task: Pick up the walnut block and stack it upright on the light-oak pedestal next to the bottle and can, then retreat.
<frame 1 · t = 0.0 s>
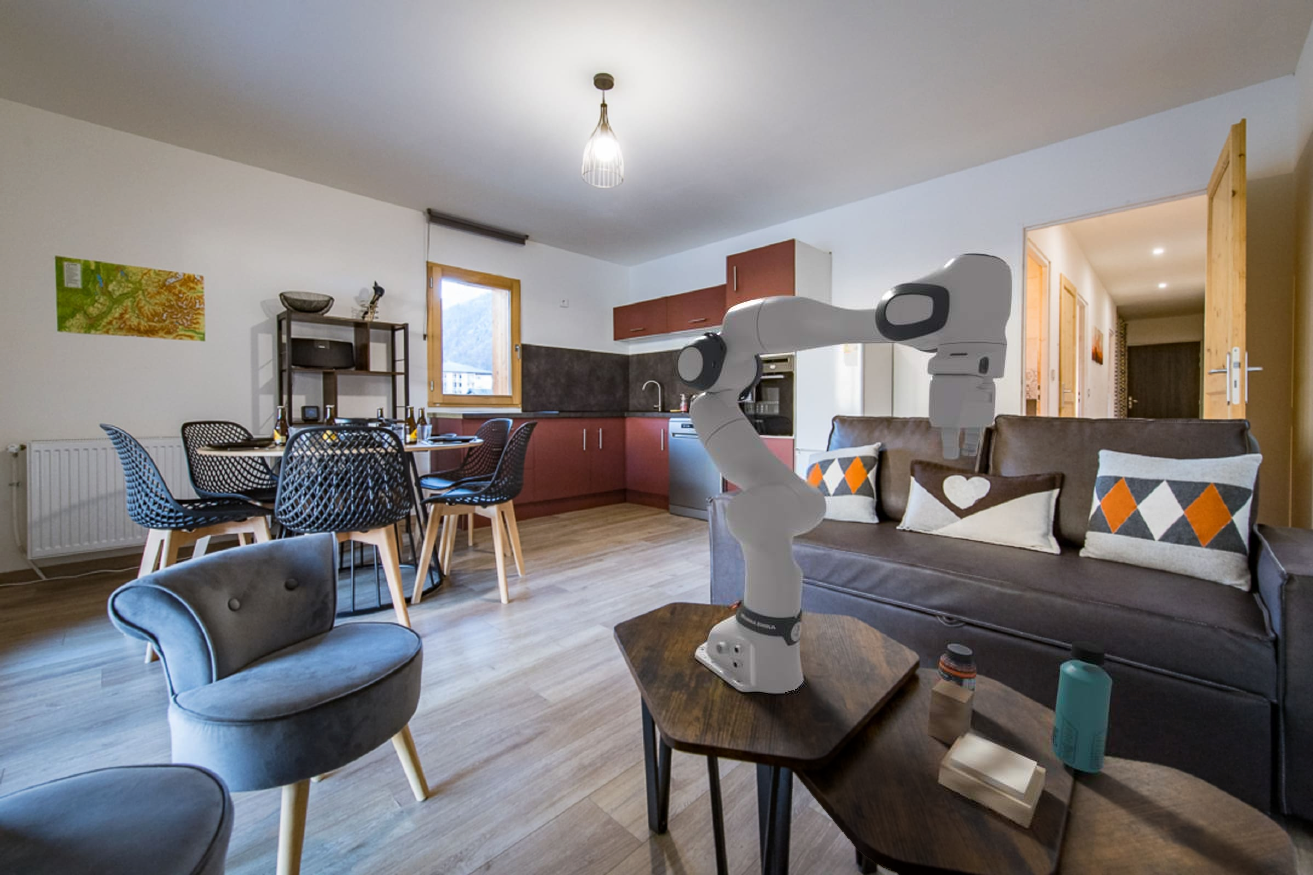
hand: (960, 457, 78), 48 cm above the table, fingers open, 8 cm apart
supplement bottle: (953, 707, 95), on the table
walnut block: (948, 735, 87), on the table
beverage bottle: (1074, 768, 81), on the table
pedestal: (990, 785, 76), on the table
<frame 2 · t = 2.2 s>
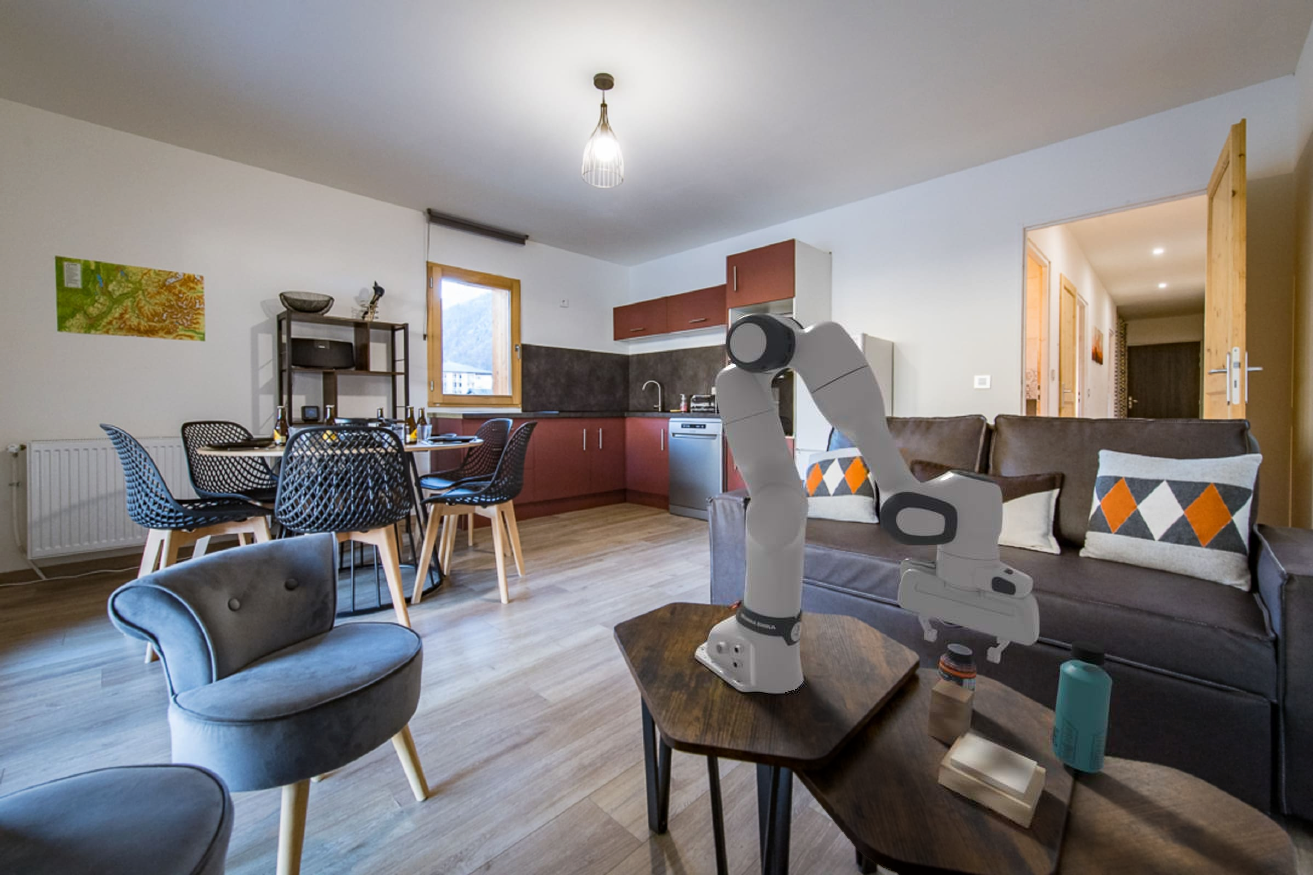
hand: (960, 649, 86), 15 cm above the table, fingers open, 8 cm apart
nothing on the table moved.
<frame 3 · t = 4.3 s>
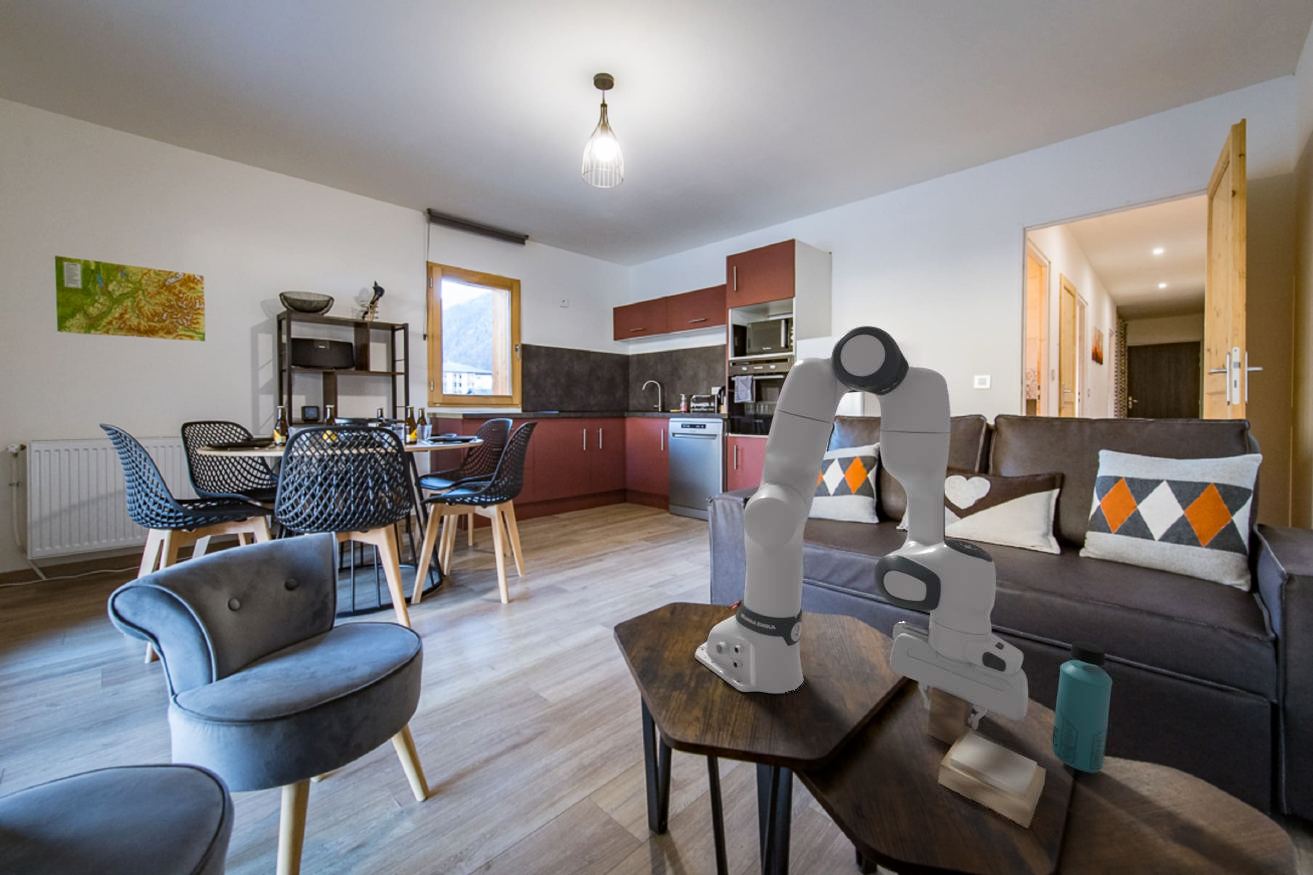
hand: (950, 717, 87), 3 cm above the table, fingers closed on walnut block, 5 cm apart
walnut block: (948, 734, 87), on the table, touching gripper
everything else where it was.
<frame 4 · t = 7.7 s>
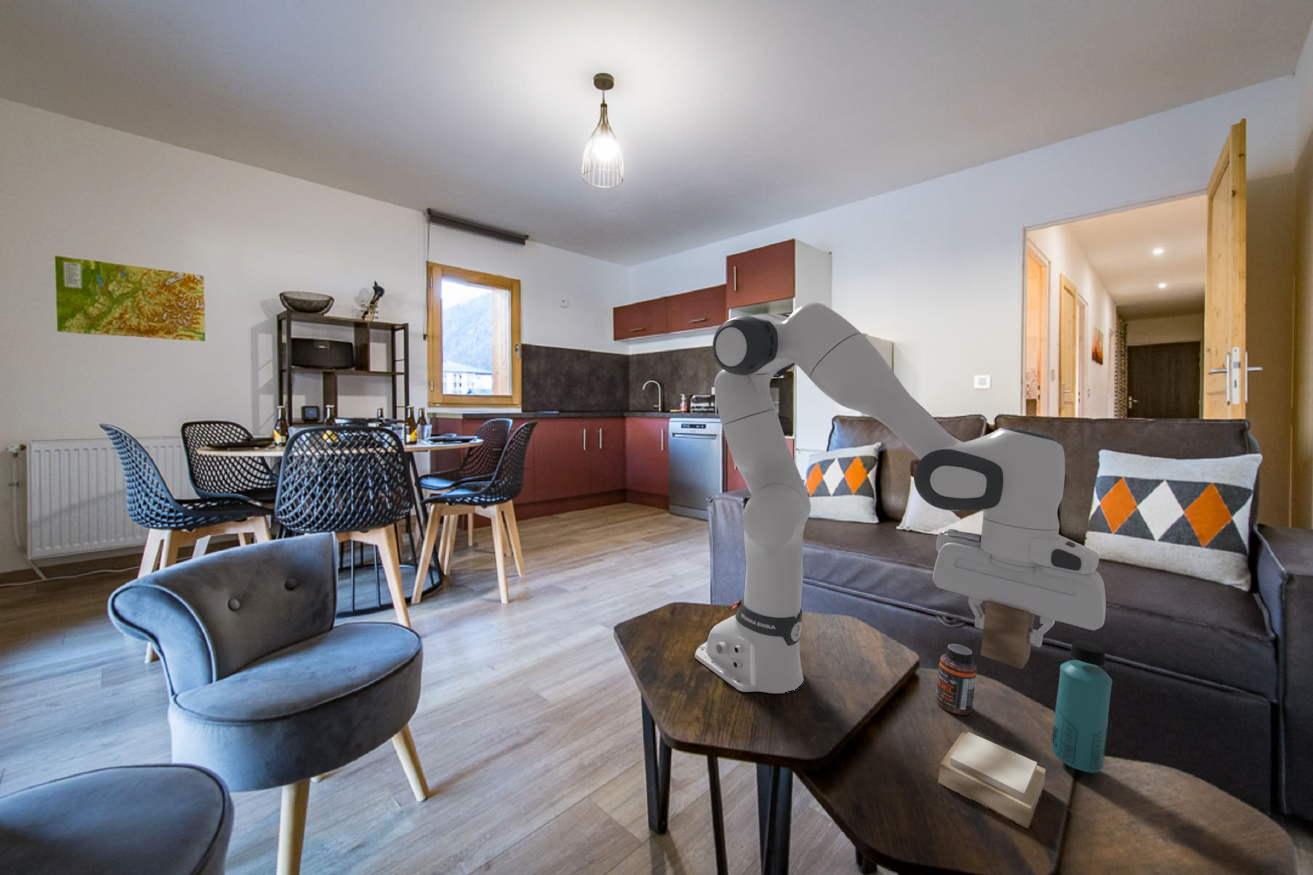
hand: (1007, 635, 74), 23 cm above the table, fingers closed on walnut block, 5 cm apart
walnut block: (1005, 656, 74), point 20 cm above the table, touching gripper
everything else where it was.
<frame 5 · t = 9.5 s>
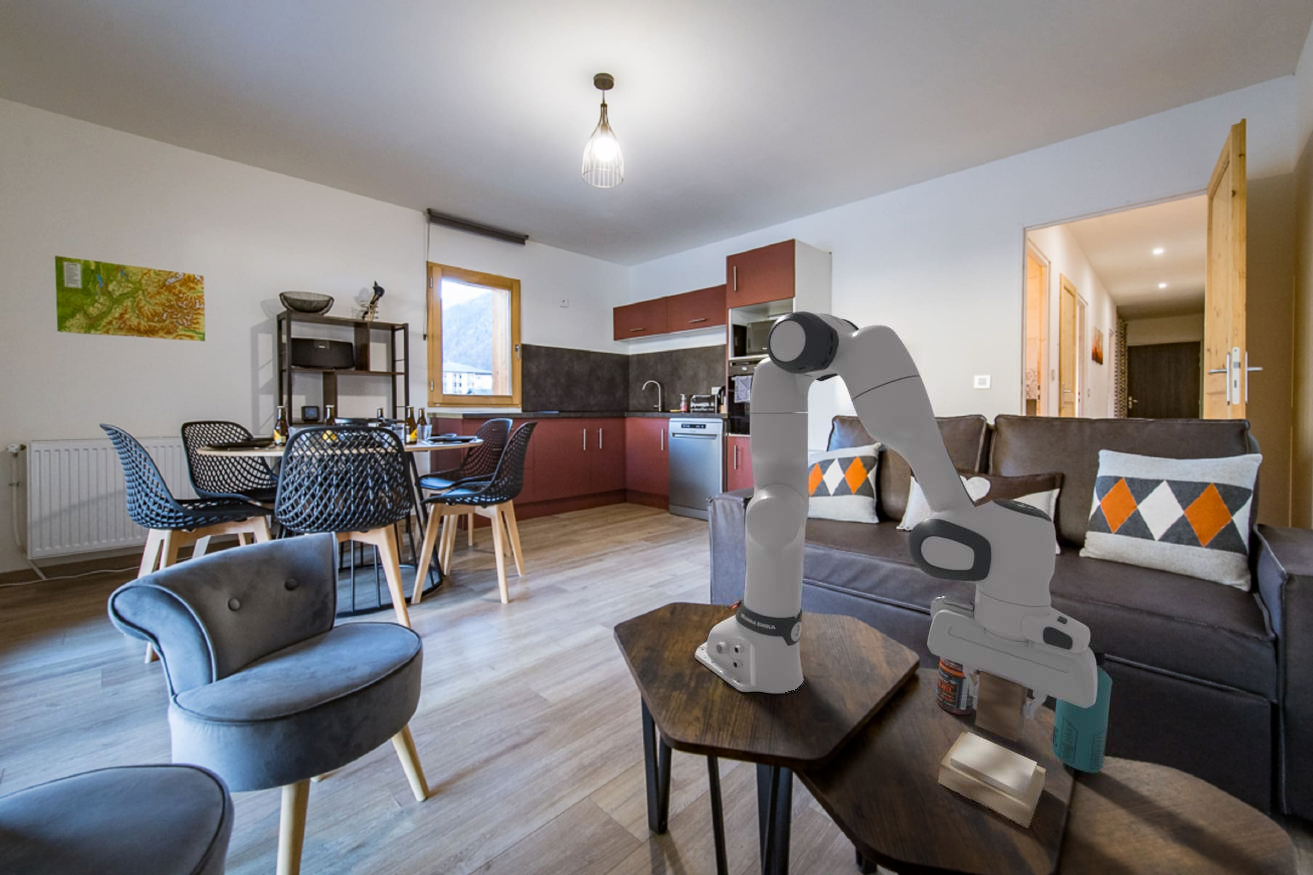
hand: (1001, 705, 75), 12 cm above the table, fingers closed on walnut block, 5 cm apart
walnut block: (999, 725, 75), point 9 cm above the table, touching gripper
everything else where it was.
when the fingers open (8 cm above the table, at t = 11.2 s): walnut block stays where it is, resting on pedestal.
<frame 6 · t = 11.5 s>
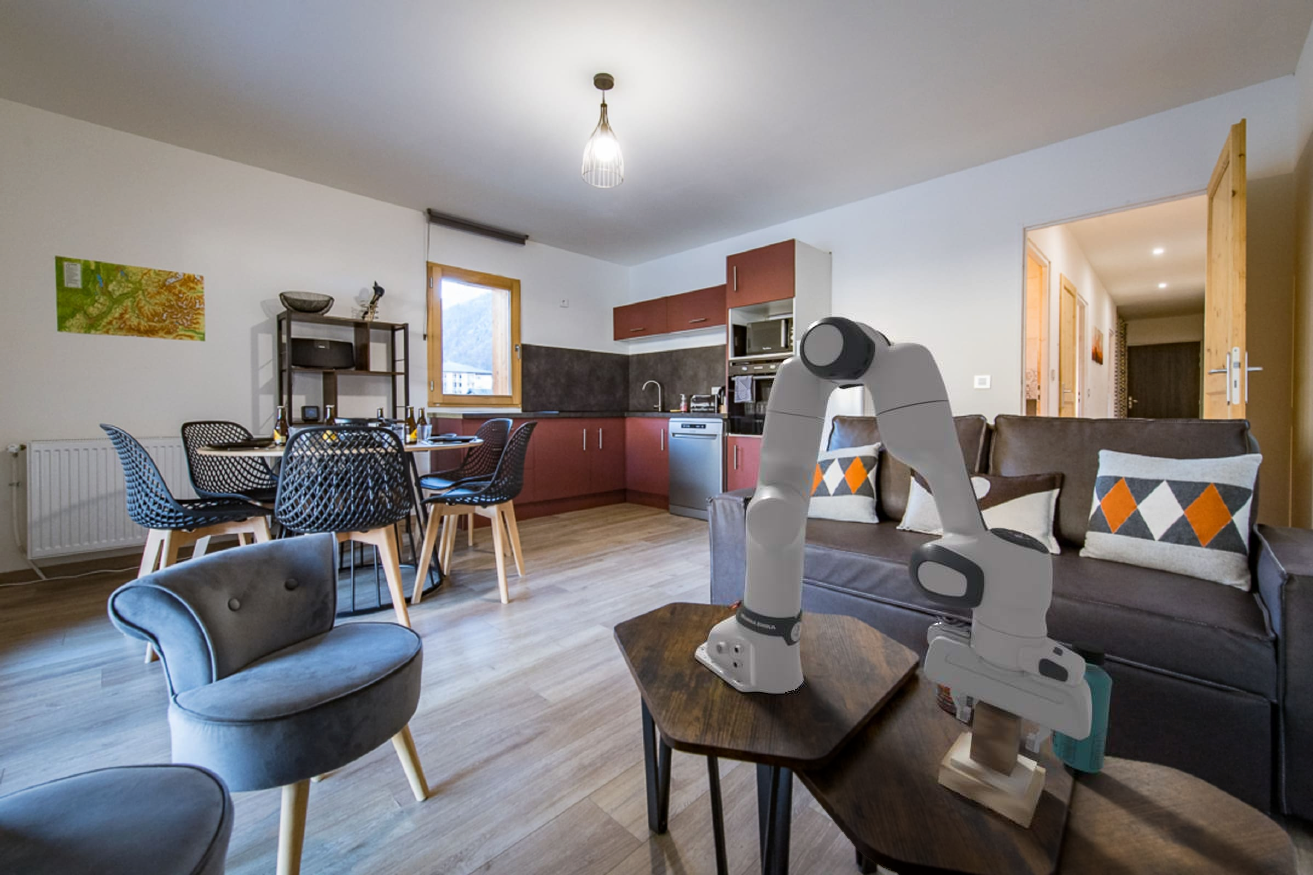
hand: (996, 733, 75), 8 cm above the table, fingers open, 7 cm apart
walnut block: (993, 759, 75), point 4 cm above the table, touching pedestal
everything else where it was.
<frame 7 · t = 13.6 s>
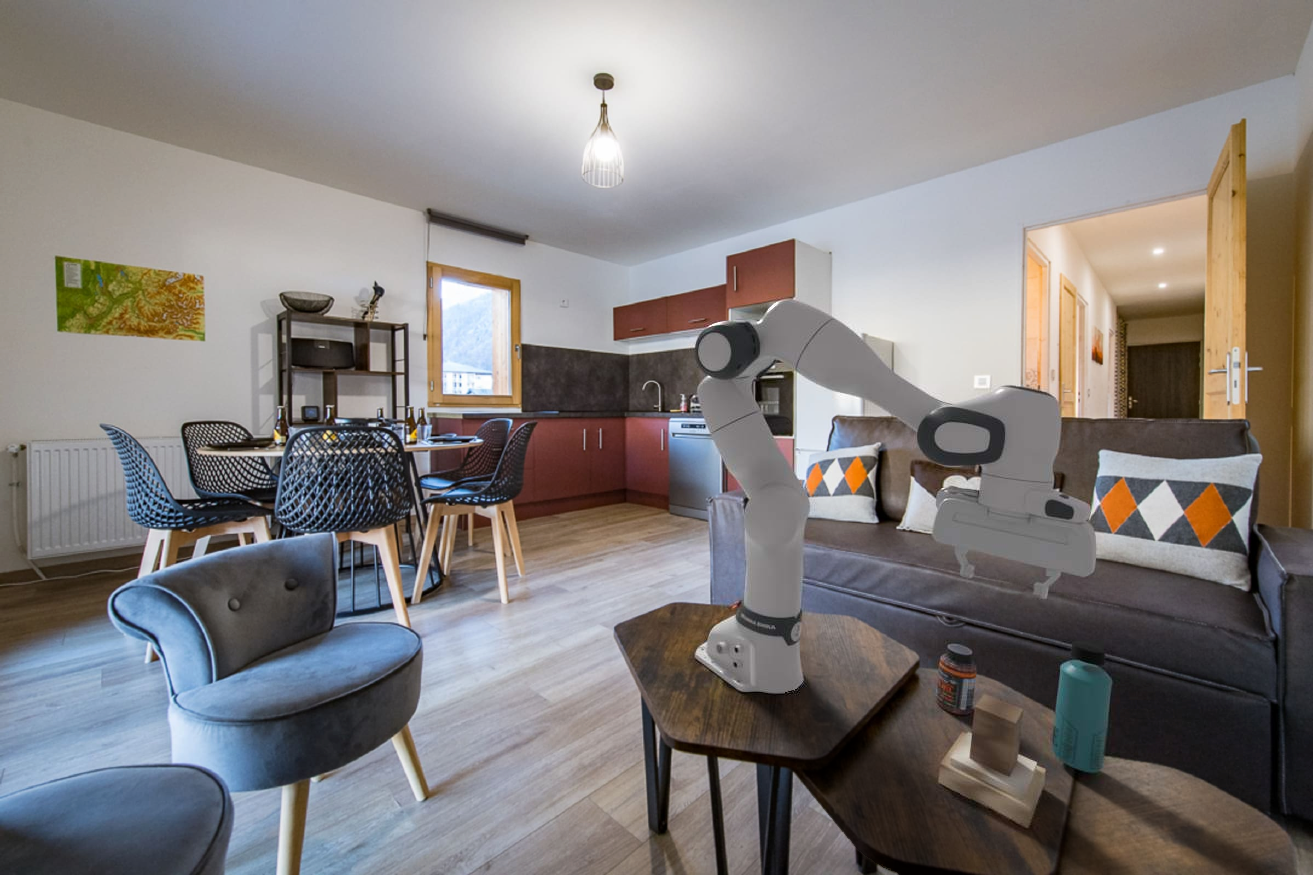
hand: (1001, 586, 77), 29 cm above the table, fingers open, 8 cm apart
nothing on the table moved.
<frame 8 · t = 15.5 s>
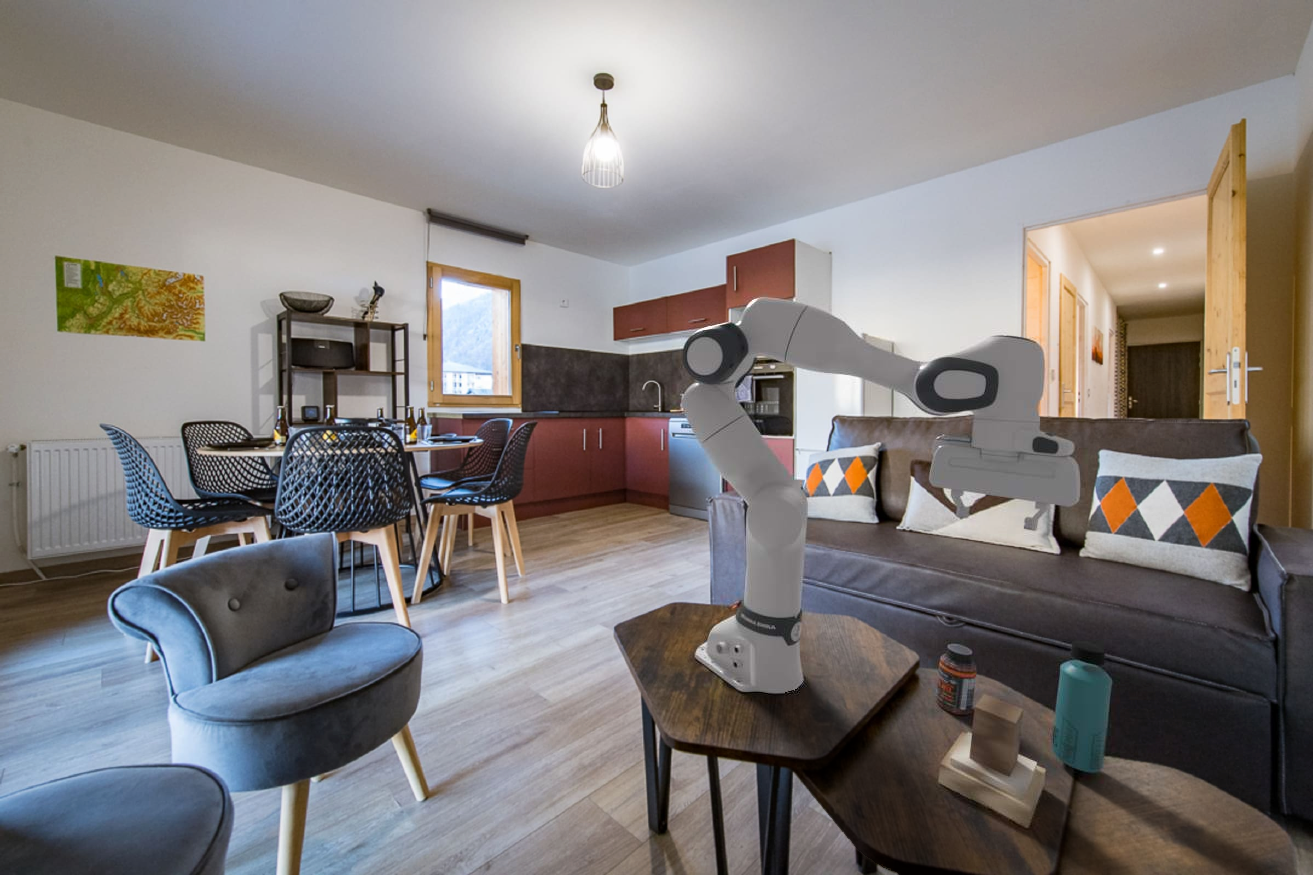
hand: (994, 523, 83), 37 cm above the table, fingers open, 8 cm apart
nothing on the table moved.
at the end: walnut block 0.1 cm from the pedestal (horizontally); walnut block point 4.0 cm above the table; walnut block tilted 0° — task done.
